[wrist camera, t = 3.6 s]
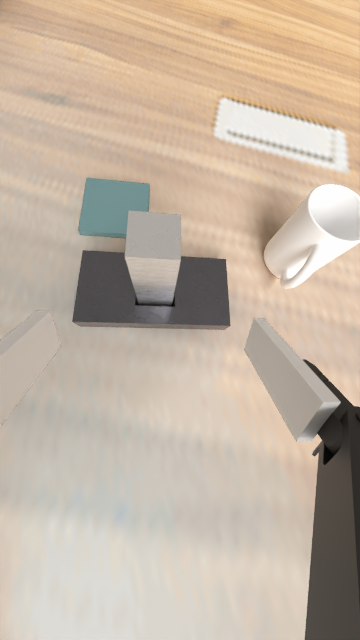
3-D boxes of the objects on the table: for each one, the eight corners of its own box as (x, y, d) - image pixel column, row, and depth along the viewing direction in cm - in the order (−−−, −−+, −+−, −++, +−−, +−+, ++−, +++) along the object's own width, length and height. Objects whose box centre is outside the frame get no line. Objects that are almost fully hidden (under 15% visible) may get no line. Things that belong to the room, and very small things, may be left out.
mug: (294, 310, 30) (361, 281, 20) (246, 287, 30) (290, 246, 20) (313, 252, 33) (379, 202, 23) (270, 231, 33) (317, 173, 24)
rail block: (80, 326, 26) (72, 321, 23) (89, 260, 28) (83, 250, 26) (224, 329, 28) (230, 325, 26) (220, 268, 30) (225, 259, 28)
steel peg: (140, 308, 27) (124, 256, 15) (141, 280, 29) (128, 210, 16) (170, 309, 28) (180, 260, 15) (171, 281, 29) (180, 214, 16)
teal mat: (80, 234, 29) (78, 230, 28) (88, 183, 32) (86, 177, 31) (146, 239, 30) (146, 235, 29) (149, 189, 33) (149, 183, 32)
